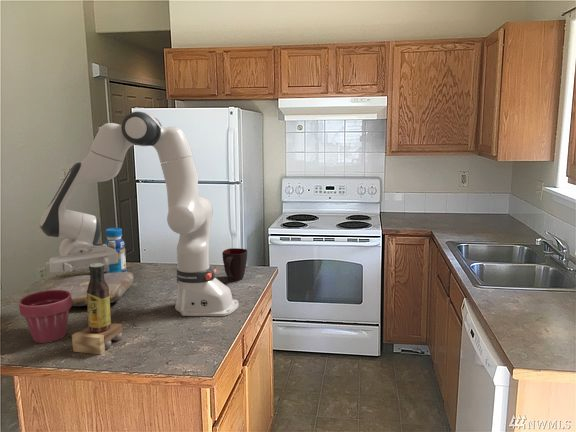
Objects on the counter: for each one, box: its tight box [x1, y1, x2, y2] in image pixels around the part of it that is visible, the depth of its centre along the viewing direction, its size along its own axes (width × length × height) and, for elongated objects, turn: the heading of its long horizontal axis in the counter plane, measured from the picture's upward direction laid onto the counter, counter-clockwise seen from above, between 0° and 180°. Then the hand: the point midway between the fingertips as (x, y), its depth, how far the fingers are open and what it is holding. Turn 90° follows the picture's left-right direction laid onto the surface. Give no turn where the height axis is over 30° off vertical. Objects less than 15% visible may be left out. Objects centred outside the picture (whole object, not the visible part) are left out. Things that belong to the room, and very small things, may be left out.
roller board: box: [71, 322, 124, 355], centre depth 143 cm, size 9×11×5 cm
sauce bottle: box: [86, 263, 112, 332], centre depth 142 cm, size 7×6×20 cm
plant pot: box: [18, 290, 73, 344], centre depth 148 cm, size 14×14×13 cm
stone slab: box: [45, 271, 135, 307], centre depth 184 cm, size 31×29×6 cm
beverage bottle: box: [104, 227, 127, 273], centre depth 213 cm, size 8×8×20 cm
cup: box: [221, 247, 248, 282], centre depth 203 cm, size 10×14×12 cm
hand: (89, 266), depth 148 cm, fingers open, 8 cm apart
